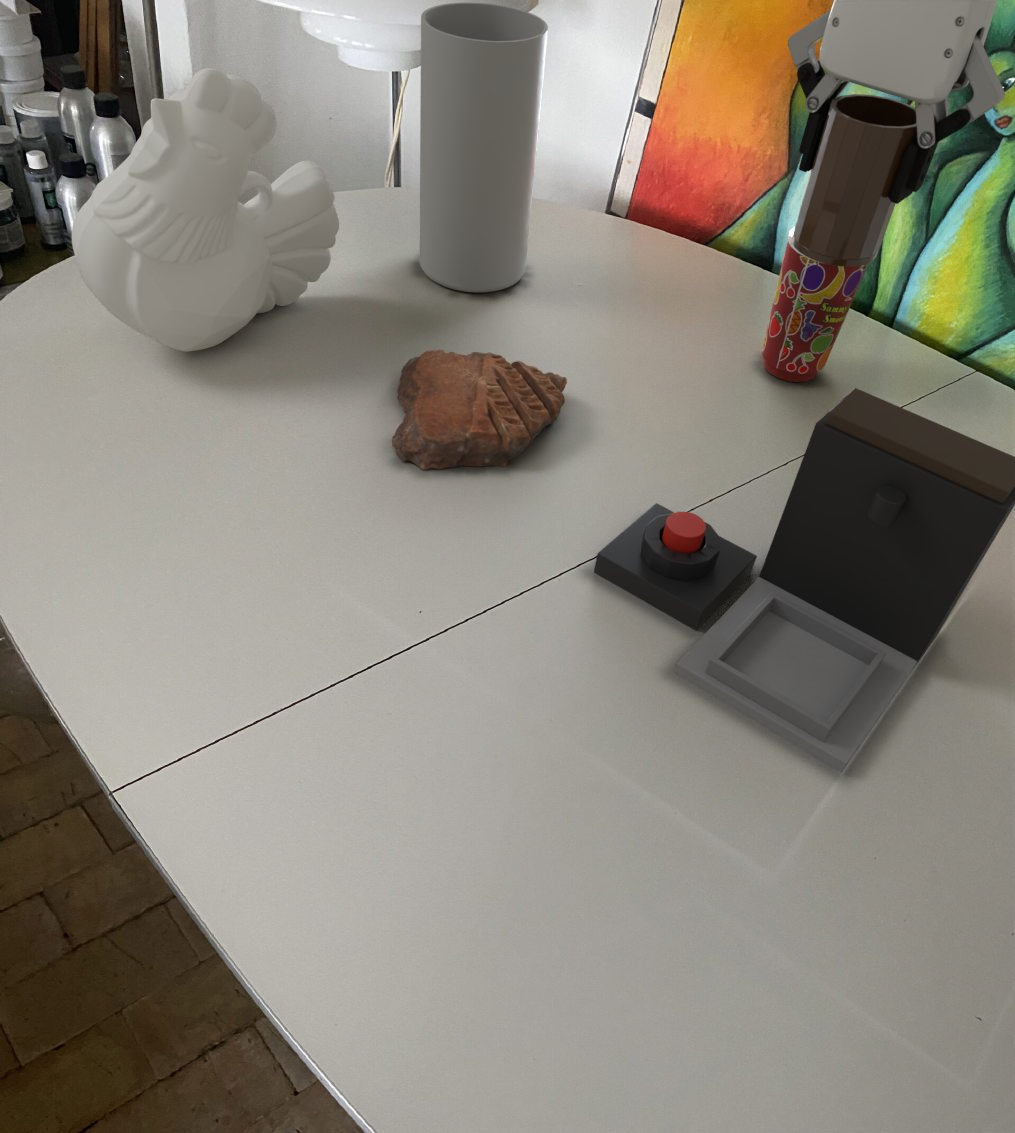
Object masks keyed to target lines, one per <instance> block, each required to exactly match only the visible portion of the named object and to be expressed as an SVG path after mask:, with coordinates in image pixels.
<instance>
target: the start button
mask: <svg viewBox="0 0 1015 1133" xmlns="http://www.w3.org/2000/svg"><path fill="white" fill-rule="evenodd" d="M705 522H706V521H704V519H703V518H702V517H701V516H699V515H698V514H695V513H693V512H690V511H676V512H675V511H674V513H673V514H671V515H670V516H669V517H668V518H667V520H666V524H665V528H664V532H663V536H662V540H663V543H664V544H665V546H666V547H667V548H669V549H671V550H673V551H675V552H678V553H685V554H690V553H694V552H696V551H698V550H699V549H700V547H701V545H702V541H703V538H704V534H705V531H706V524H705Z"/></svg>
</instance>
